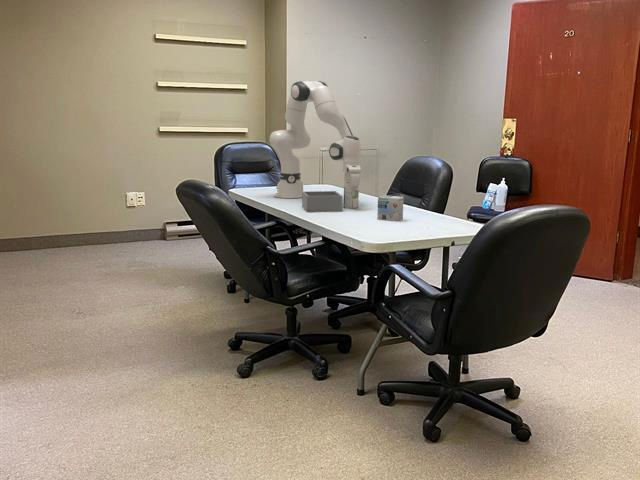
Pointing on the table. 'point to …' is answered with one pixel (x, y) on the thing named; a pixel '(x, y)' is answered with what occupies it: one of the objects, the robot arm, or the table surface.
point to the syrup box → (350, 196)
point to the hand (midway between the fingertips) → (351, 194)
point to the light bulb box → (390, 208)
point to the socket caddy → (322, 201)
